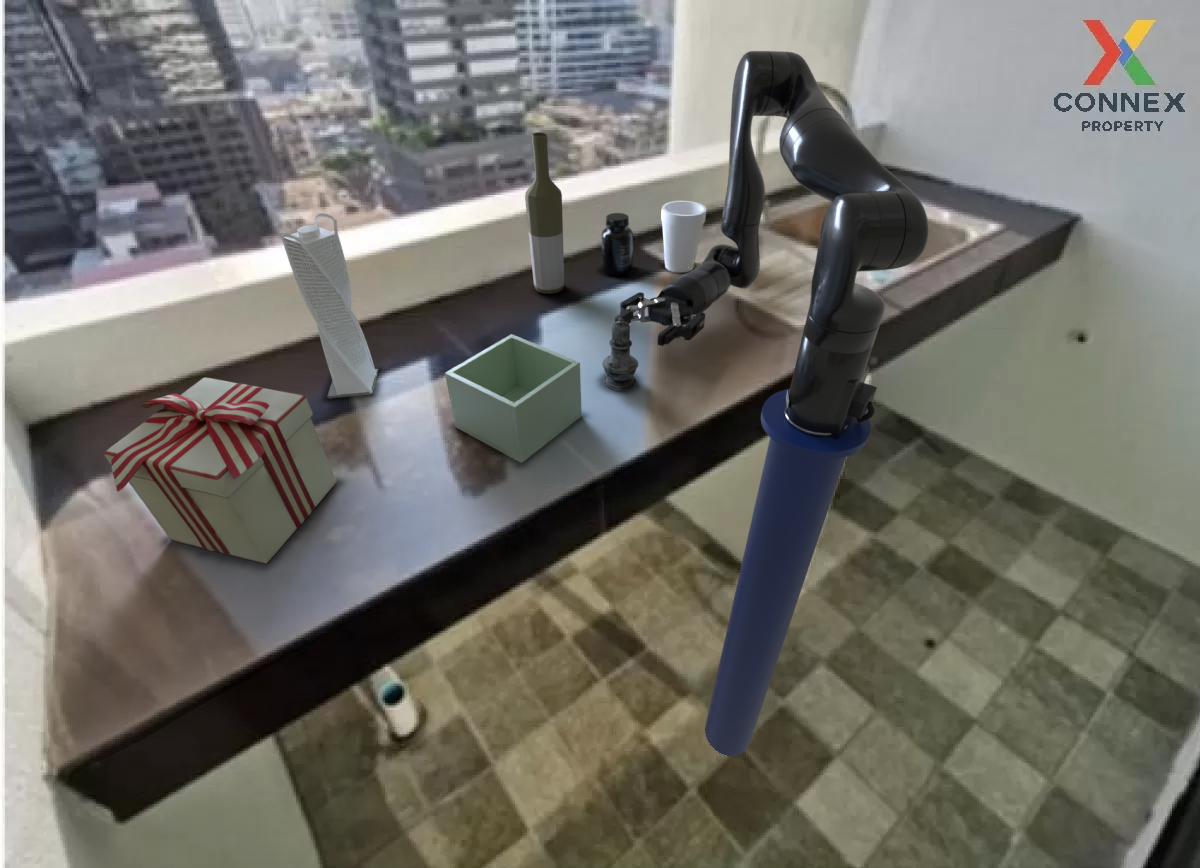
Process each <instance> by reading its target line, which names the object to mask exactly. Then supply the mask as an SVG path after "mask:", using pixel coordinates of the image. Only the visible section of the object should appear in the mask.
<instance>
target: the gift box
mask: <svg viewBox="0 0 1200 868" xmlns="http://www.w3.org/2000/svg"><path fill="white" fill-rule="evenodd" d="M161 405H163V407H161V408H159V409H158V410H157V411H156V412H154V413H153V414H152V415H151V416H149V417H148V418H147V419H146V420H144V421H143V422H142V423H141V424H139V425H138V426H137V427H136V428H134V429H133V430H132V431H130V432H128V433H127V434H126V435H125V436H124V437H122V438H120V439H119V440H118V441H116V442H115V443H114V444H113V445H111V446H110V447H109V448H108V449H106V450H105V451H104V452H103V455H104V457H105V459H106V460H107V461H108V463H109V464H110V467H111V473H112V476H113V479H114V483H115V487H116V488H115V489H116V491H117V492H120V491H121V490H123V489H124V488H125V487H126V486H127V485H128V483H129V485H130V486H131V487H132V489H133V490H134V491H135V493H136V494H137V496H138V497H139V499H140V500H141V501H142V502H143V504H144V505H145V507H146V508H147V510H148V511H149V512H150V514H151V515H152V516H153V518H154V519H155V521H156V522H157V523H158V525H159V526H160V528H161V529H162V530H163V532H164V533H165V534H166V536H167V537H168V539H169V540H170V541H174V542H177V543H181V544H185V545H188V546H193V547H197V548H200V549H204V550H206V551H212V552H217V553H221V554H224V555H228V556H233V557H237V558H240V559H244V560H249V561H251V562H252V561H253V562H257V563H261V564H268V563H269V562H270V561H271V560H272V559H273V558H274V556H275V555H276V554H277V553H278V552H279V551H280V549H281V548H282V547H283V546H284V545H285V543H286V542H287V541H288V540H289V539H290V538H291V537H292V536H293V534H294V533H295V532H296V531H297V530H298V529H299V528H300V526H301V525H302V524H303V523H304V522H305V521H306V519H307V518H308V517H309V516H310V515H311V513H313V511H314V510H315V509H316V508H317V506H318V505H319V504H320V503H321V502H322V500H323V499H325V497H326V496H327V495H328V494H329V492H330V491H331V490H332V489H333V488H334V486H335V485H336V484H337V478H336V476H335V474H334V472H333V469H332V467H331V464H330V462H329V460H328V457H327V454H326V451H325V450H324V447H323V444H322V442H321V439H320V437H319V435H318V432H317V430H316V427H315V425H314V422H313V420H312V417H313V415H314V413H313V410H312V408H311V406H310V403H309V400H308V399H307V396H306V395H305V394H300V393H295V392H293V393H292V392H288V391H282V390H277V389H271V388H265V387H262V386H256V385H250V384H245V383H239V382H233V381H226V380H223V379H217V378H212V377H203V378H201V379H199V380H198V381H197V382H195V383H194V384H193V385H191V386H190V387H188V389H186V390H185V391H183V392H182V393H180V394H178V393H171V394H167V395H163V396H161V397H158V398H153V399H150V400H145V401H143V402H141V404H140V406H142V407H144V409H149V408H152V407H153V408H154V407H156V406H161Z"/></svg>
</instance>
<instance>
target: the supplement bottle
mask: <svg viewBox="0 0 1200 868" xmlns="http://www.w3.org/2000/svg"><path fill="white" fill-rule="evenodd" d="M629 226H630V221H629V215H628V214H626V213H623V212H612V213H609V214H607V215H606V216H605V228H603V230H602V232H601V270H602V272H603V273H604V274H606V275H607V276H611V277H623V276H627V275H629V274H631V272H632V271H633V269H634V268H633V267H634V266H633V265H634V232H633V230H632V229H631V228H630V227H629Z"/></svg>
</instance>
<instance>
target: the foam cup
mask: <svg viewBox="0 0 1200 868" xmlns="http://www.w3.org/2000/svg"><path fill="white" fill-rule="evenodd" d="M706 216H707V207H706V206H705V205H704V204H702V203H699V202H697V201H691V200H673V201H667V202H666V203H664V204H662V207H661V213H660V220H661V225H662V227H661V228H662V241H663V257H664V267H665V269H666V270H668V271H670V272H672V273H673V272H674V273H688V272H691V271H693V270H694V267H695V262H696V259H697V258H696V257H697V254H698V249H699V244H700V240H701V236H702V231H703V228H704V224H705V223H706V219H707V217H706ZM692 265H693V266H692ZM688 267H689V268H688Z"/></svg>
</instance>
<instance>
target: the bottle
mask: <svg viewBox="0 0 1200 868" xmlns="http://www.w3.org/2000/svg"><path fill="white" fill-rule="evenodd" d="M531 137H532V138H531V144H532V149H533V150H532V151H533V165H534V180H533V181H532V183H531V184H530V185H529V187H528V188H527V189H526V190H525V194H524V201H525V210H526V211H525V212H526V220H527V231H528V241H529V251H530V258H531V268H532V270H531V271H532V277H533V278H532V279H533V286H534V289H535V290H536V291H537V292H538V293H541V294H547V295H548V294H550V295H551V294H556V293H560V292H561V291H562V290H563V289H564V286H565V258H564V255H565V254H564V227H563V226H564V222H563V221H564V220H563V217H564V216H563V193H562V190H561V189H560V188H559V187H558V186H557V185H556V184H555V182H553V180H552V179H551V177H550V169H549V166H550V165H549V149H548V148H549V147H548V144H549V141H548V139H549V138H548V134H547V133H546V132H534V133H532V134H531Z"/></svg>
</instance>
